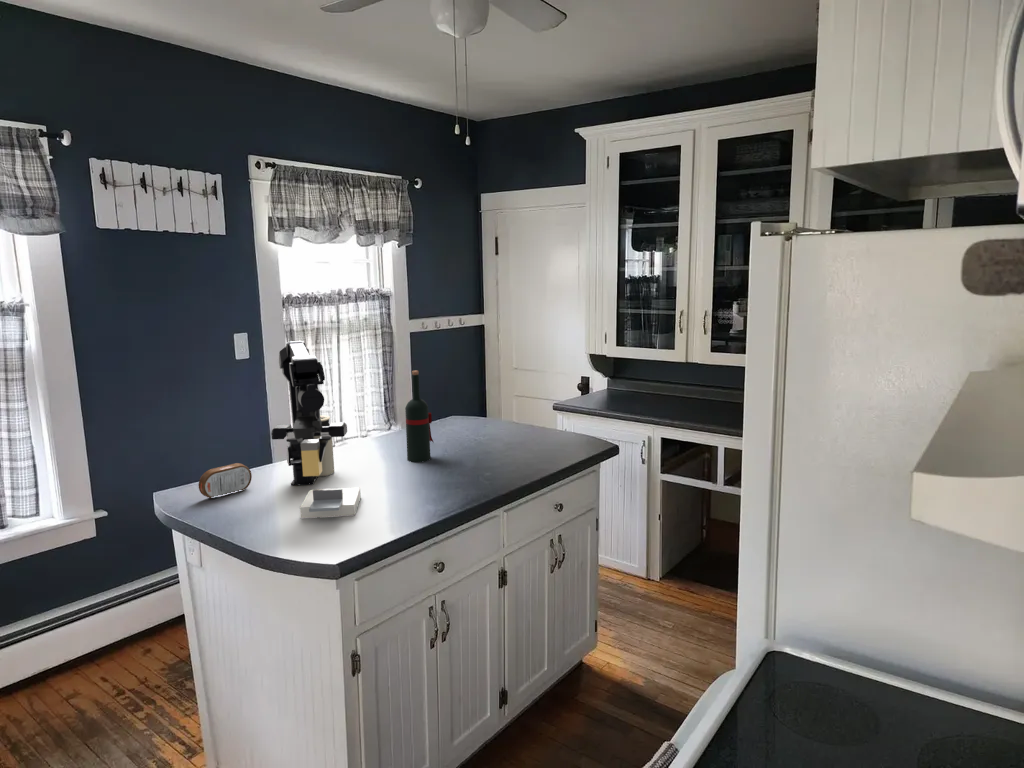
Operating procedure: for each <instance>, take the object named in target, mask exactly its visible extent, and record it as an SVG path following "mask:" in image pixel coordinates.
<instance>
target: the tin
mask: <svg viewBox="0 0 1024 768" xmlns="http://www.w3.org/2000/svg"><path fill="white" fill-rule="evenodd" d="M252 475H253V474H252V471H251V469H250V468H249V467H248V466H247V465H244V464H243V463H239V462H236V463H231V464H228V465H224V466H219V467H214V468H211V469H208V470H206V471H205V472H204V473H203V474H202V475H201V476H200V478H199V481H198V486H197V487H198V491H199V493H200V494H202V496H204V497H206V498H208V497H209V498H208V499H212V498H211V497H214V496H218V495H223V494H227V493H231V492H235V491H239V490H243V489H245V490H246V489H247V488H248V487H249V486H250V485H251V481H252ZM243 491H244V490H243Z"/></svg>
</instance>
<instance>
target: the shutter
mask: <svg viewBox="0 0 1024 768" xmlns="http://www.w3.org/2000/svg"><path fill="white" fill-rule="evenodd" d="M312 490H313V502H312V504H311V506H310V508H309V512H317V511H335V510H339V509H340V507H341V504H342V502H343V491H342V487H336V488H318V489H317V488H315V489H312Z"/></svg>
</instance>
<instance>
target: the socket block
mask: <svg viewBox="0 0 1024 768" xmlns="http://www.w3.org/2000/svg"><path fill="white" fill-rule="evenodd" d="M341 488H342V487H341ZM313 490H314V489H311V490H310V489H309V490H308V493H307V494H306V496H305V498H304V500H303V501H302V503H301V504H300V507H299V511H300V512H299V514H300V519H301V518H302V519H314V518H315V519H316V518H317V517H320V518H334V517H335V518H336V517H354V516H356V513H357V511H358V508H357V507H359V504H360V502H359V501H361V498H362V497H361V487H346V488H344V487H343V488H342V491H343V502H342V504H341V507H340V509H339V510H335V511H317V512H309V508H310V506H311V504H312V502H313ZM317 519H318V518H317Z"/></svg>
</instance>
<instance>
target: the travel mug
mask: <svg viewBox="0 0 1024 768" xmlns="http://www.w3.org/2000/svg"><path fill="white" fill-rule="evenodd" d="M330 417H331V416H329V415H321V414H320V419H321V421H322V427H324V426H330V424H331V423H330V419H331V418H330ZM320 437H321V434H314V437H313V438H314V439H319V438H320ZM333 446H334V445H333V438H332V439H331V440H328V443H327V445H326V448H325V452H324V455H323V459H322V472H321V474H320V475H319V476H316V478H320V477H321V478H322V476H323V477H327V476H330V475H333V473H335V462H334V459H335V458H334V447H333ZM313 477H314V476H313Z"/></svg>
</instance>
